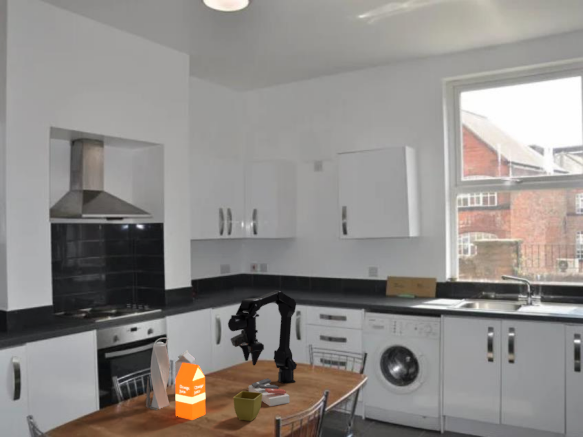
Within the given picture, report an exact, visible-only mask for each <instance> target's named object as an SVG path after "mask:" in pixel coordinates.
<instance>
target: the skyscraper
mask: <svg viewBox="0 0 583 437" xmlns="http://www.w3.org/2000/svg"><path fill="white" fill-rule="evenodd" d="M160 340H166V341H165V343H164V342H162V341H160ZM168 342H169V337H160V338H158V339H156V340H155V341H154V343H153V346H152V352H151V358H150V359H151V360H150V377H151V378H150V379H151V384H152V385H151V386H152V389H153V396H152V398H151V387H150V380H147V381H146V383H147V386H146V387H145V389H146V398H145V404H146V405H145V407H147V408H146V409H149V408H150V410H153V409H154V410H153V411H159V410H161V408H162V409H164V408H163V407H165V408H167V406H168V407H169V406H170V401H169V397H168V393H167V386H168V382H169V377H170V359H169V353H168V347H167V344H168ZM147 379H149V376H147ZM151 399H152V400H151ZM157 408H158V409H159V410H158V409H157Z"/></svg>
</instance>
